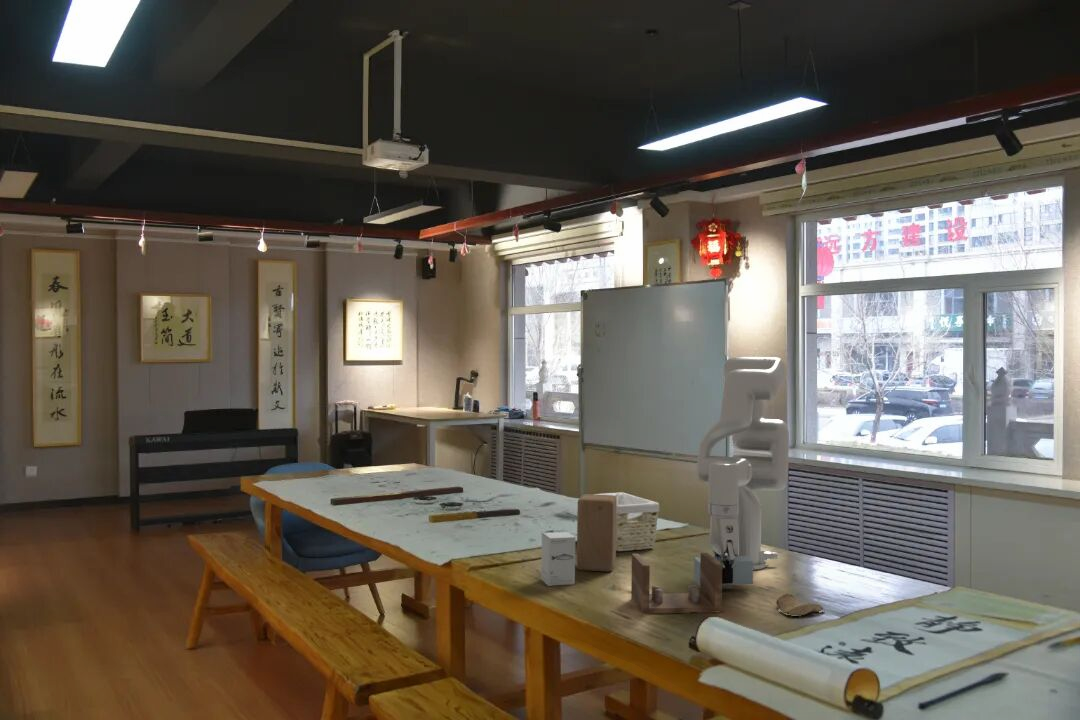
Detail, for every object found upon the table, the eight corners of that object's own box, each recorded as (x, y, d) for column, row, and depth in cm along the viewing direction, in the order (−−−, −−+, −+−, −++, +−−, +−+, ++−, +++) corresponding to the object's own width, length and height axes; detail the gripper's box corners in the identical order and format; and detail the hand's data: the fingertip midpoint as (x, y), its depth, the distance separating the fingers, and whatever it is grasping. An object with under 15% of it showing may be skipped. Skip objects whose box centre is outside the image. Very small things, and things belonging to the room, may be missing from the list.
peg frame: (706, 597, 216) (706, 552, 216) (721, 611, 204) (722, 564, 204) (631, 599, 214) (631, 553, 214) (642, 613, 202) (642, 565, 202)
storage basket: (579, 538, 284) (579, 493, 284) (622, 535, 290) (623, 491, 290) (615, 554, 262) (615, 505, 262) (661, 550, 269) (661, 502, 269)
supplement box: (548, 586, 224) (548, 538, 224) (540, 579, 231) (541, 532, 231) (575, 585, 226) (576, 536, 226) (567, 577, 233) (567, 531, 233)
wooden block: (612, 572, 239) (612, 500, 239) (576, 570, 241) (577, 498, 241) (616, 564, 249) (617, 494, 249) (581, 562, 251) (582, 493, 251)
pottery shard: (826, 619, 205) (796, 599, 213) (829, 603, 204) (799, 583, 212) (792, 628, 200) (763, 606, 208) (795, 611, 199) (765, 590, 207)
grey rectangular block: (746, 578, 227) (746, 555, 226) (752, 584, 222) (753, 560, 221) (693, 580, 225) (694, 557, 225) (699, 586, 220) (699, 562, 220)
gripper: (749, 516, 214) (748, 589, 215) (726, 502, 231) (726, 570, 232) (719, 517, 214) (719, 590, 214) (699, 503, 231) (698, 571, 231)
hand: (722, 579), depth 223 cm, fingers closed on grey rectangular block, 5 cm apart
